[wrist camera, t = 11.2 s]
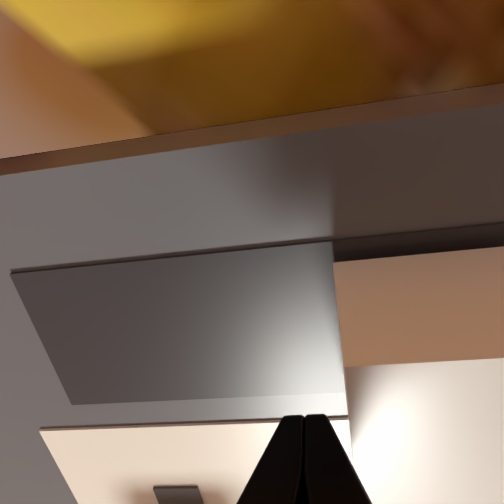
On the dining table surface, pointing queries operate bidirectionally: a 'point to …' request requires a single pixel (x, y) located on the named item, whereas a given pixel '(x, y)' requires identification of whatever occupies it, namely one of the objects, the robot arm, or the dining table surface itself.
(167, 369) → the switch board
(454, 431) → the block
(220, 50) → the dining table surface
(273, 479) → the robot arm
